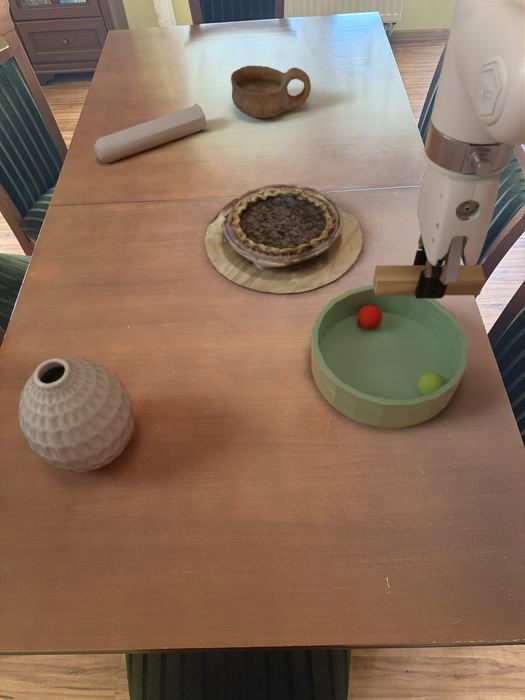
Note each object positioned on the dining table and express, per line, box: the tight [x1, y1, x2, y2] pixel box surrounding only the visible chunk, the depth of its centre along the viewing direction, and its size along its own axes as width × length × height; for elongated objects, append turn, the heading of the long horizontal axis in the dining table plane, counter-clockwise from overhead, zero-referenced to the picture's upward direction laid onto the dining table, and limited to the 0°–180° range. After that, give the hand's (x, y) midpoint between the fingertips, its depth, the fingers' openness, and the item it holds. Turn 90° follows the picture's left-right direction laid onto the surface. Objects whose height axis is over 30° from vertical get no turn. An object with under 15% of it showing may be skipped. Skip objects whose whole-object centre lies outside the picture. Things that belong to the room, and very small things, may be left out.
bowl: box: [230, 65, 312, 119], centre depth 116 cm, size 18×14×10 cm
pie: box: [204, 183, 363, 294], centre depth 90 cm, size 28×27×5 cm
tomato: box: [358, 305, 382, 329], centre depth 76 cm, size 4×4×4 cm
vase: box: [18, 356, 135, 473], centre depth 61 cm, size 13×13×17 cm
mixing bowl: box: [310, 284, 470, 429], centre depth 71 cm, size 21×21×6 cm
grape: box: [418, 372, 446, 396], centre depth 68 cm, size 4×4×4 cm
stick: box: [372, 264, 486, 296], centre depth 59 cm, size 2×12×2 cm, turn 88°
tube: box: [93, 103, 207, 164], centre depth 111 cm, size 5×5×25 cm
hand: (426, 285), depth 60 cm, fingers closed on stick, 2 cm apart
